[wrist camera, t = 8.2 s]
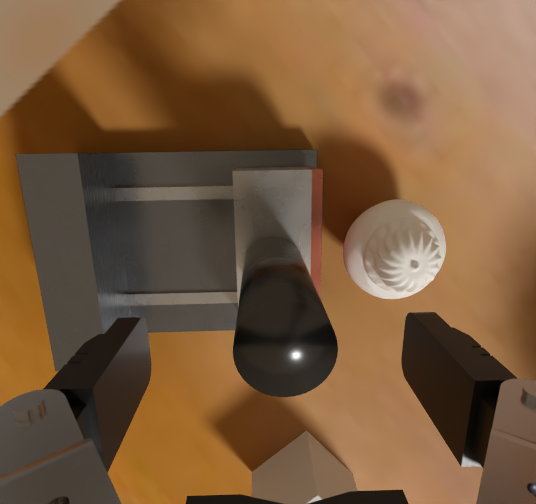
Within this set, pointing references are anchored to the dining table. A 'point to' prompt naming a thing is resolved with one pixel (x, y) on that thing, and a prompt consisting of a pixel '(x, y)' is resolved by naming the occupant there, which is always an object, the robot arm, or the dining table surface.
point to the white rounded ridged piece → (394, 249)
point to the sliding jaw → (280, 281)
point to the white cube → (301, 474)
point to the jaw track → (137, 238)
